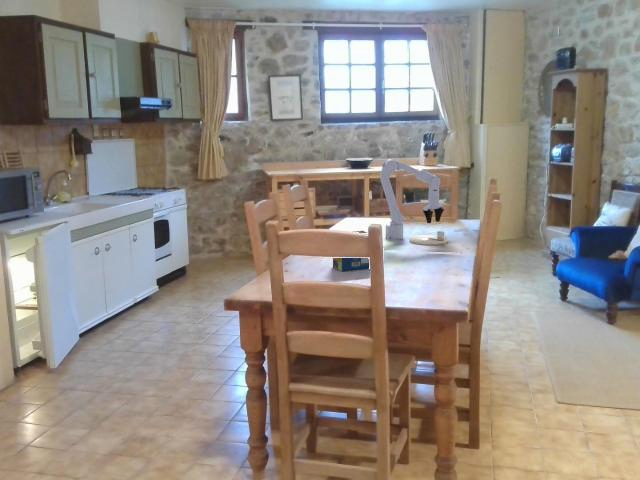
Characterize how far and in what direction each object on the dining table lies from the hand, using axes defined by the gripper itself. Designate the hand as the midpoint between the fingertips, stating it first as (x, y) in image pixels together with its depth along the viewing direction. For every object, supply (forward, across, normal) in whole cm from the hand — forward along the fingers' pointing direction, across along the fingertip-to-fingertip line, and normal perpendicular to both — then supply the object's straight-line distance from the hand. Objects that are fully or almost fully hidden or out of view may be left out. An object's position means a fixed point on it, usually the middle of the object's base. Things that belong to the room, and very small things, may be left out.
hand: (433, 222), depth 332 cm
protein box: (+10, -78, -16) cm, 81 cm away
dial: (+8, -11, -6) cm, 15 cm away
